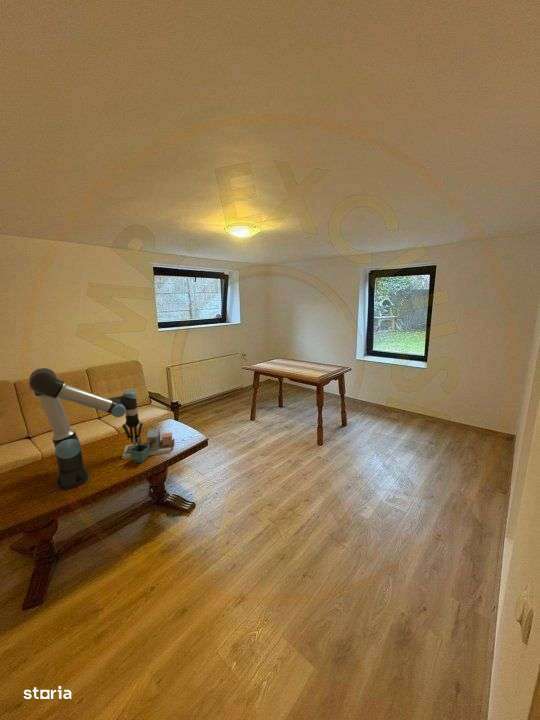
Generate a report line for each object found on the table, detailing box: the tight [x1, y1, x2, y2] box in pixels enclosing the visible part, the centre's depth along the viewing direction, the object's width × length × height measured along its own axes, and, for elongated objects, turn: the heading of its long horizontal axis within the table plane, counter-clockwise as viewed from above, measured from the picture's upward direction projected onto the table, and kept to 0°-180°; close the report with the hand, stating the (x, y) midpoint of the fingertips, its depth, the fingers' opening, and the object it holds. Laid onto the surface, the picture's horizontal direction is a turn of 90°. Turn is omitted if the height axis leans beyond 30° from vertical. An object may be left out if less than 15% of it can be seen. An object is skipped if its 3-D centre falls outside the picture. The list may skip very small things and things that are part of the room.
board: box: [121, 443, 172, 460], centre depth 201 cm, size 30×14×3 cm, turn 106°
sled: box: [136, 436, 175, 448], centre depth 201 cm, size 23×8×6 cm, turn 106°
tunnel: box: [146, 428, 161, 451], centre depth 201 cm, size 7×12×10 cm, turn 16°
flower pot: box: [130, 444, 150, 464], centre depth 187 cm, size 9×9×9 cm
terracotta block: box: [161, 432, 173, 445], centre depth 203 cm, size 6×6×6 cm
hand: (135, 446), depth 198 cm, fingers closed
